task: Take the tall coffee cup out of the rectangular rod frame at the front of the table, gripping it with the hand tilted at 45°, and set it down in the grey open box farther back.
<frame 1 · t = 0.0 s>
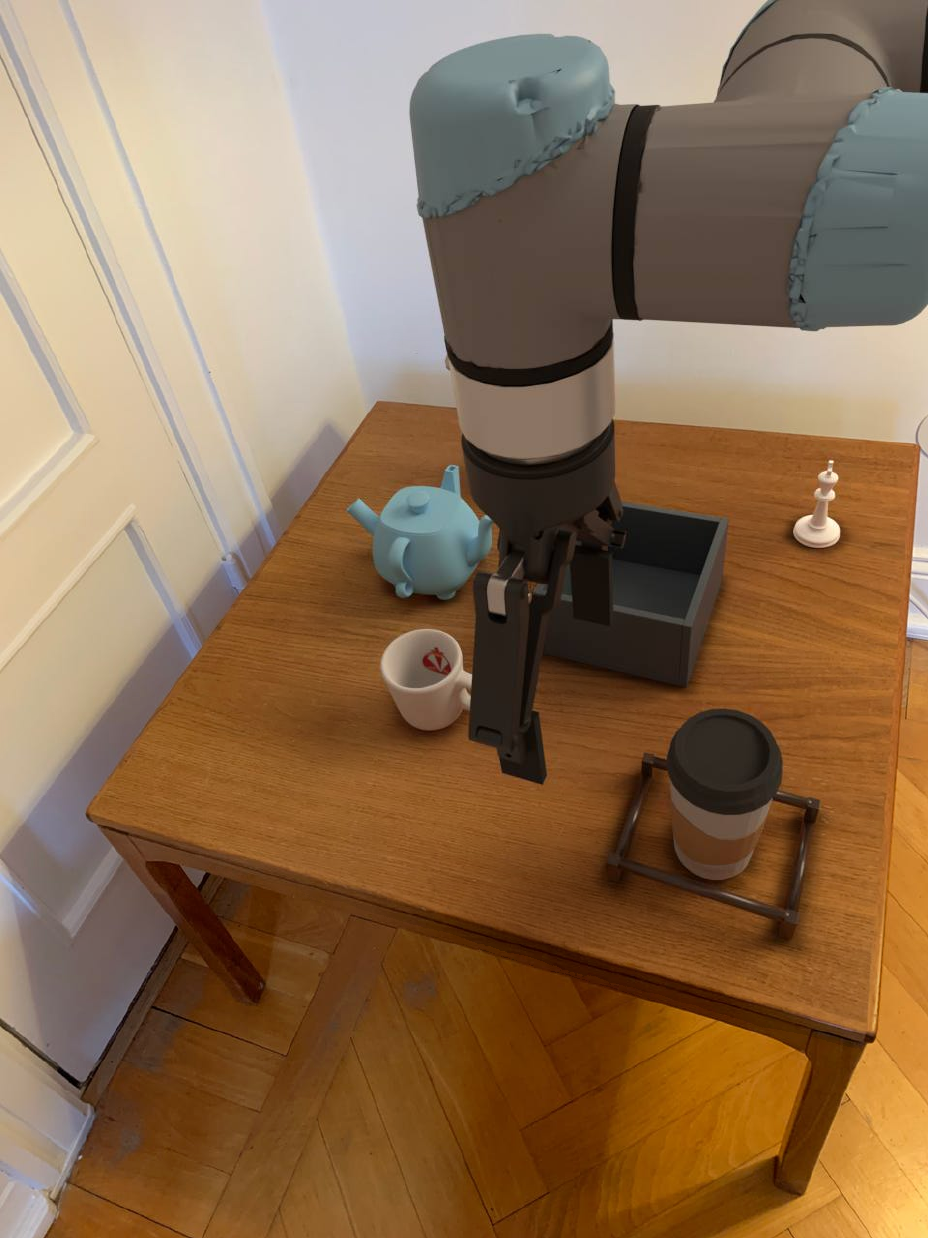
hand: (561, 691, 57), 24 cm above the table, tool pointing down, fingers open, 13 cm apart
lamp: (536, 473, 112), on the table
chess piece: (816, 534, 97), on the table
grey open box: (632, 616, 92), on the table
teapot: (437, 569, 102), on the table
rectangular rod frame: (711, 848, 73), on the table
cup: (446, 713, 87), on the table
coffee cup: (711, 849, 73), on the table
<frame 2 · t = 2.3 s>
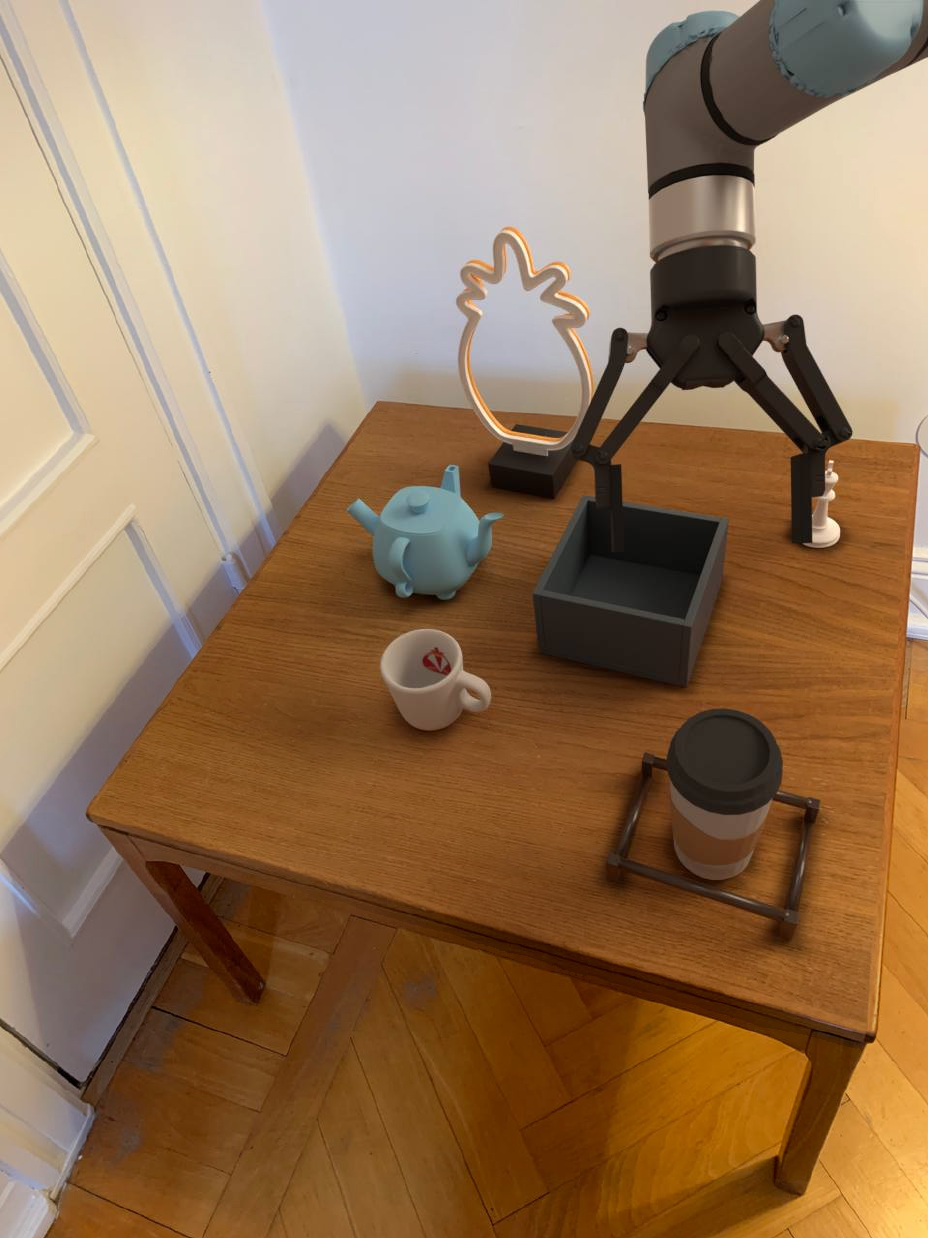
hand: (708, 548, 65), 23 cm above the table, tool tilted 40°, fingers open, 13 cm apart
nothing on the table moved.
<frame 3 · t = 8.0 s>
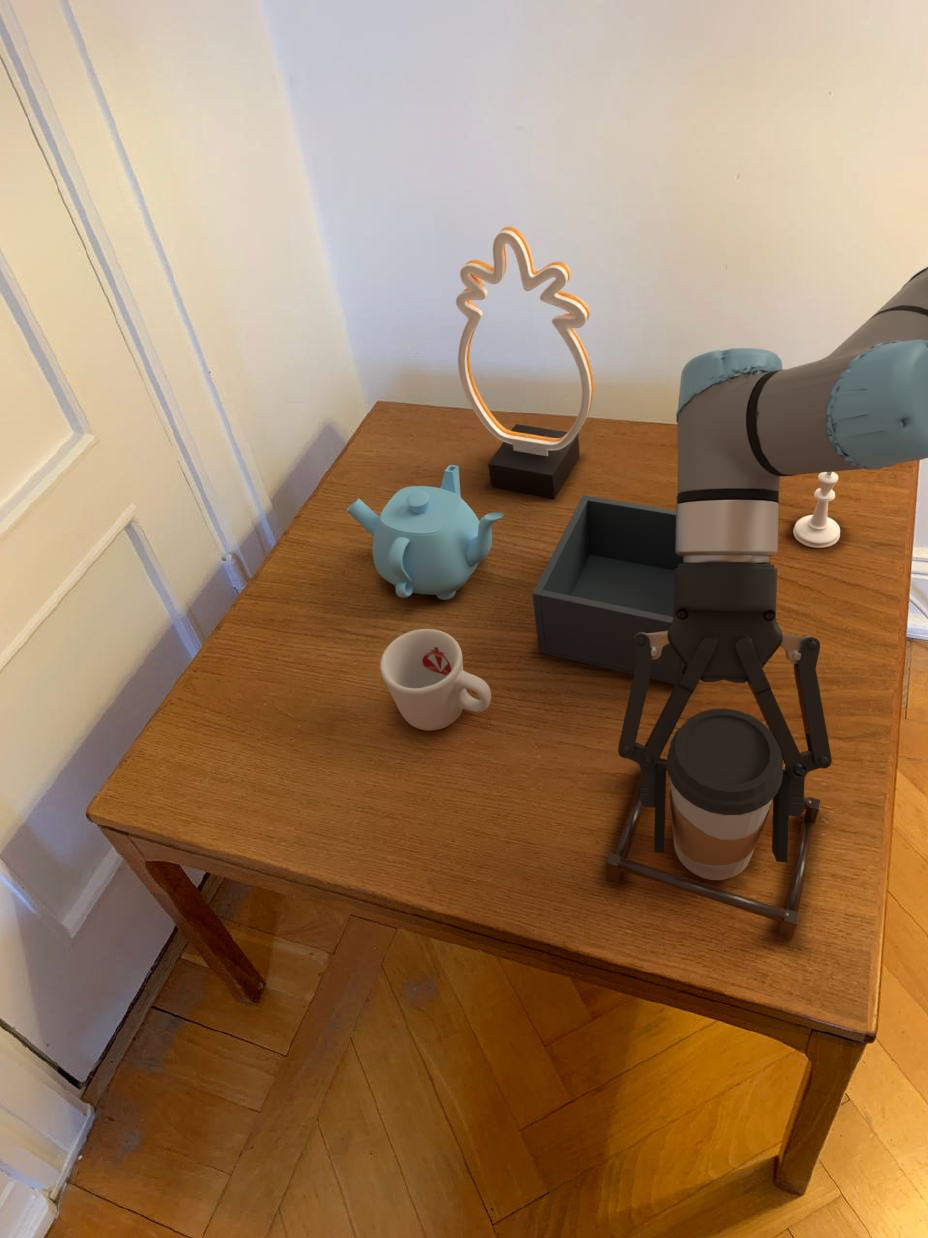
hand: (718, 852, 67), 6 cm above the table, tool tilted 45°, fingers closed on coffee cup, 8 cm apart
coffee cup: (711, 849, 73), on the table, touching gripper
everything else where it was.
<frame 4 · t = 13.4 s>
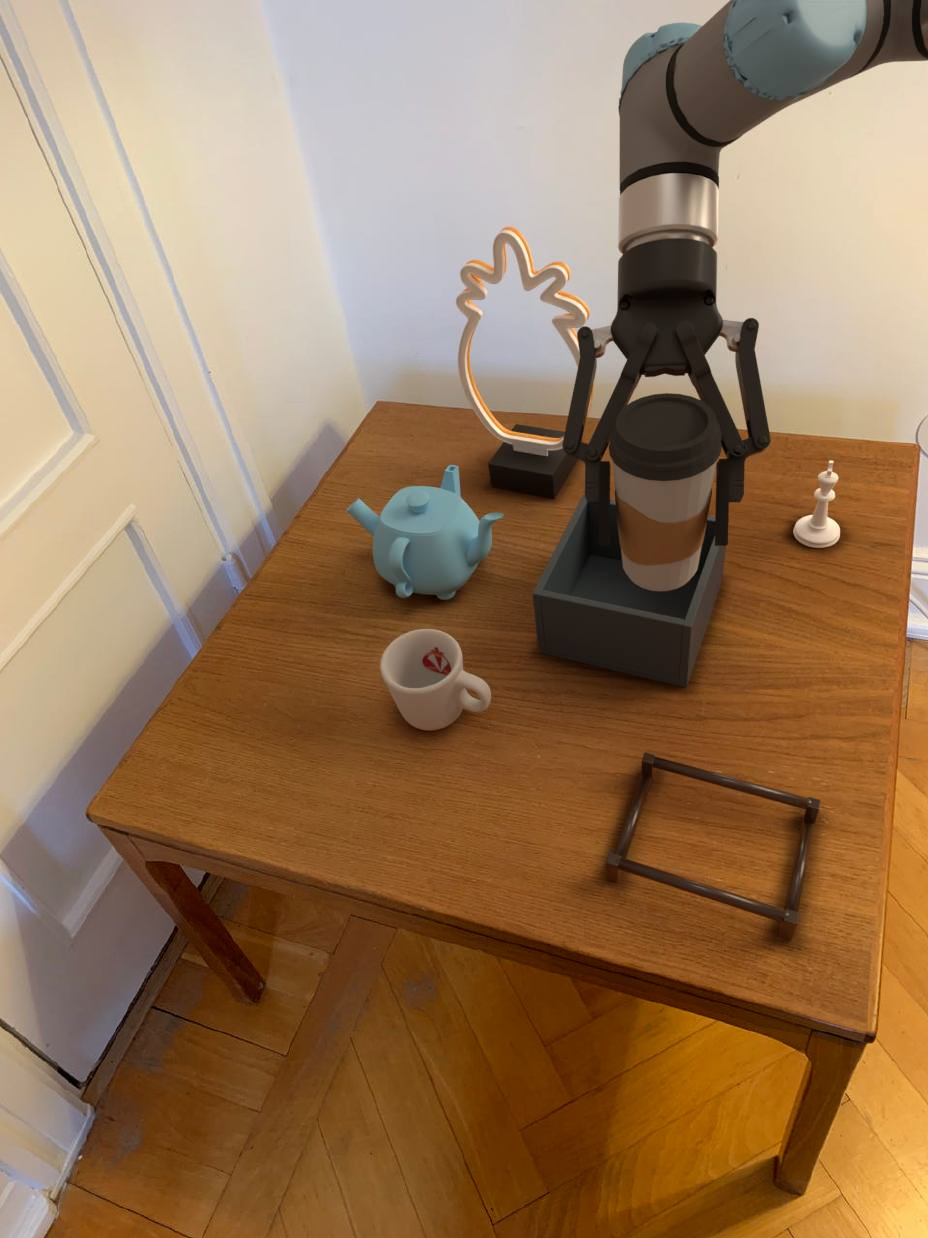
hand: (661, 544, 68), 22 cm above the table, tool tilted 45°, fingers closed on coffee cup, 8 cm apart
coffee cup: (659, 569, 74), point 16 cm above the table, touching gripper
everything else where it was.
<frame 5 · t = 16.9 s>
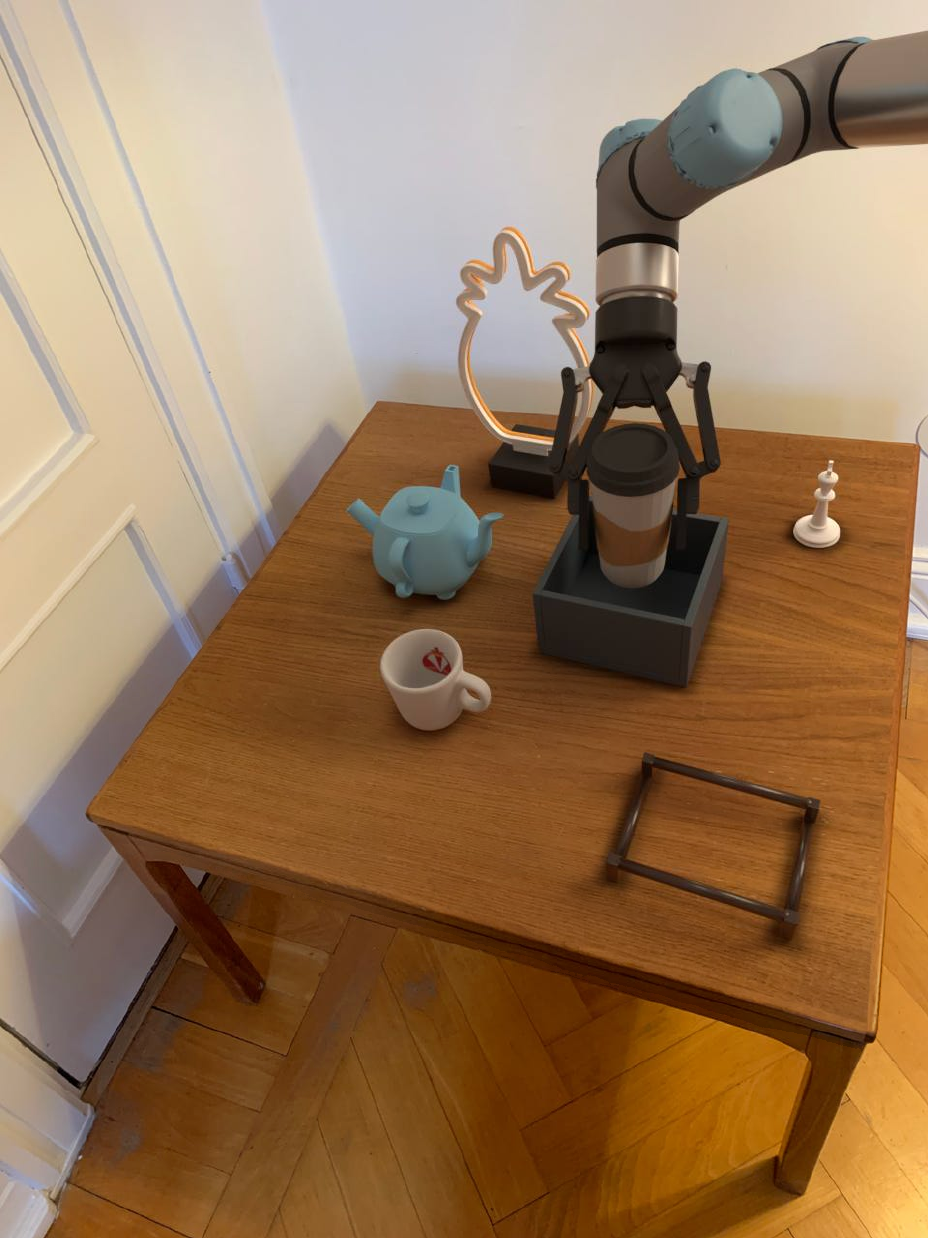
hand: (631, 549, 81), 13 cm above the table, tool tilted 45°, fingers closed on coffee cup, 8 cm apart
coffee cup: (632, 569, 87), point 7 cm above the table, touching gripper
everything else where it was.
when the fingers open (8 cm above the table, at t = 19.8 s): coffee cup stays where it is, resting on grey open box.
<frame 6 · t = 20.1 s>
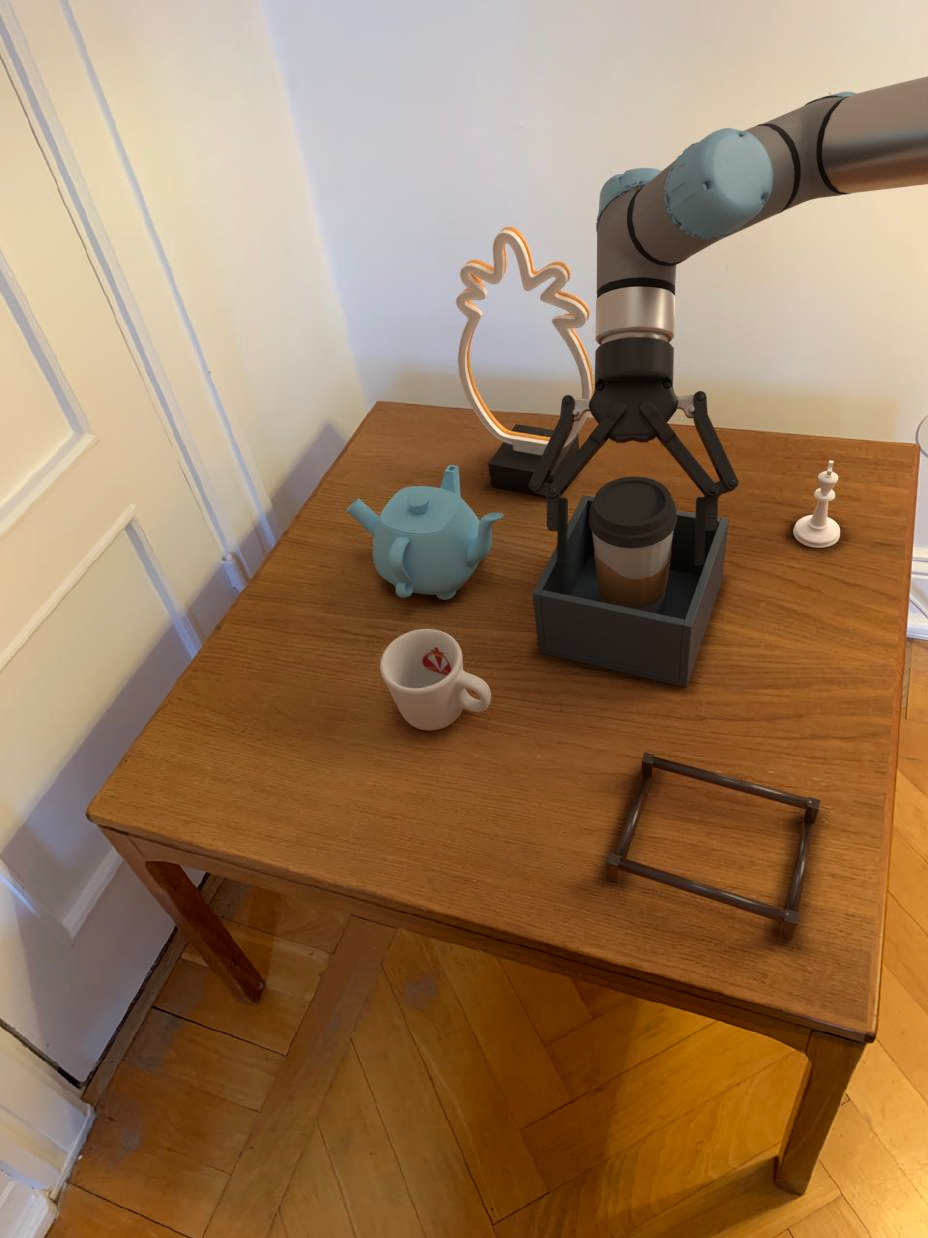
hand: (629, 565, 84), 9 cm above the table, tool tilted 45°, fingers open, 12 cm apart
coffee cup: (632, 610, 92), point 1 cm above the table, touching grey open box
everything else where it was.
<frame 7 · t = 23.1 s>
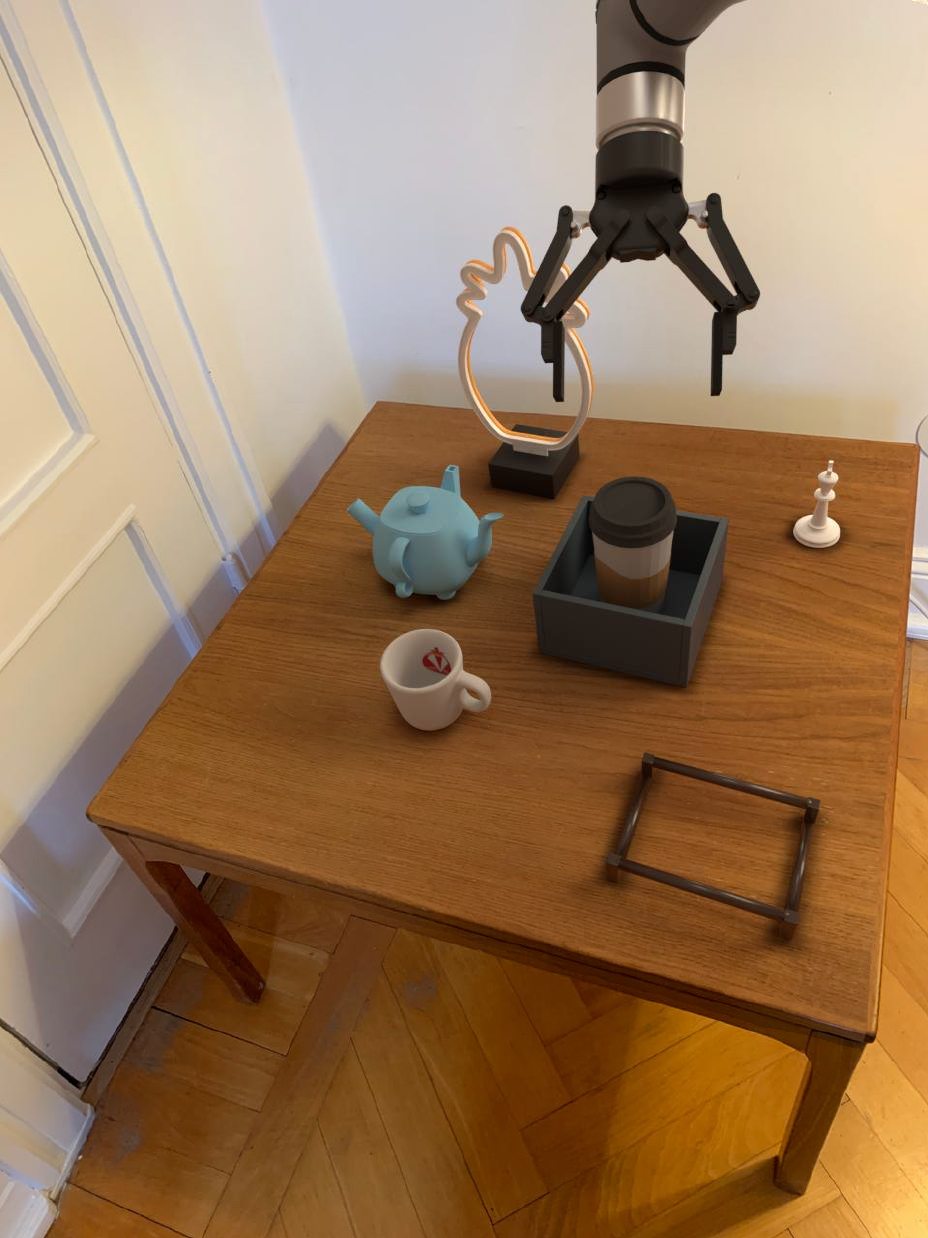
hand: (635, 396, 75), 26 cm above the table, tool tilted 45°, fingers open, 13 cm apart
nothing on the table moved.
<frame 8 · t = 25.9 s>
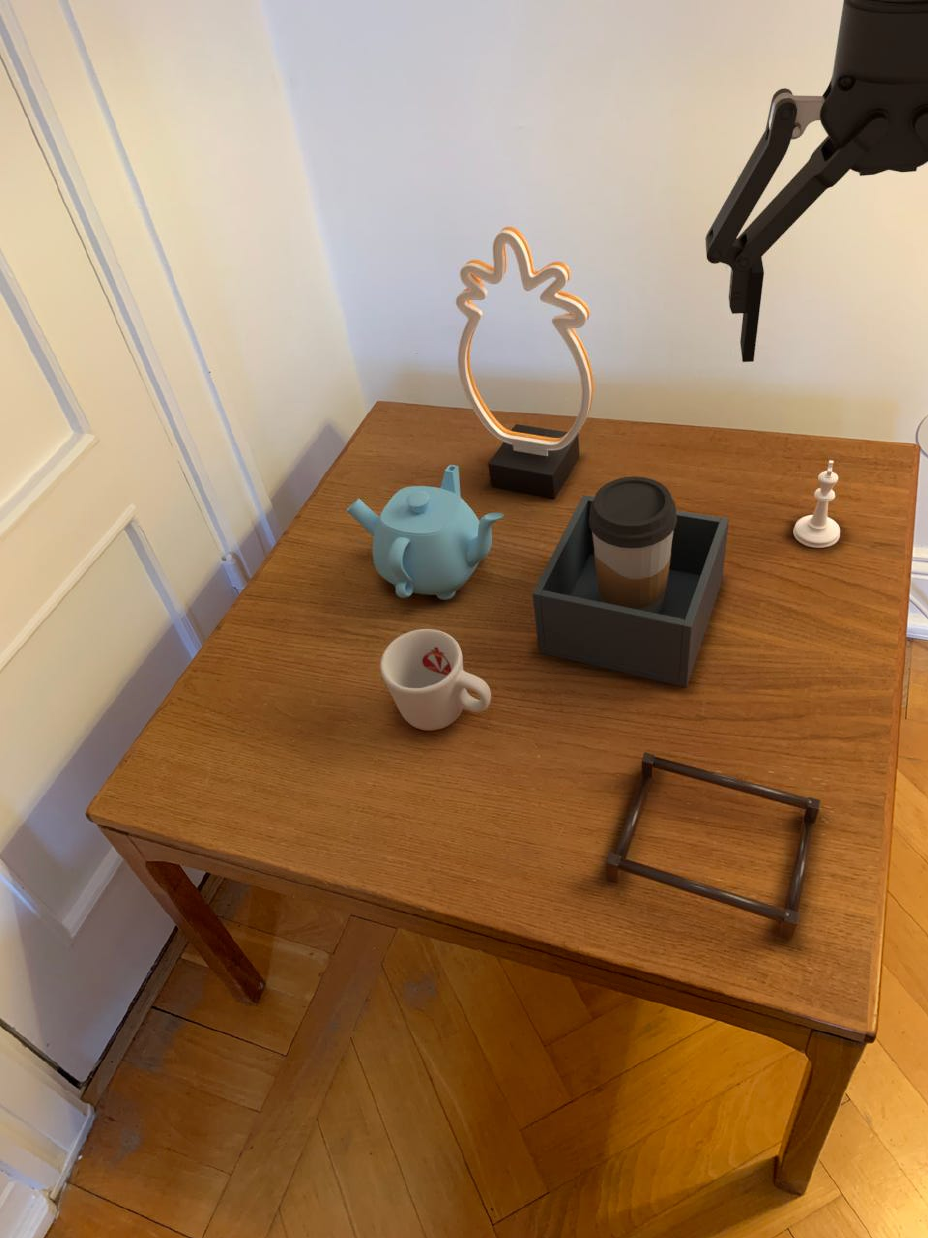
hand: (848, 347, 60), 35 cm above the table, tool pointing down, fingers open, 13 cm apart
nothing on the table moved.
at the end: coffee cup inside the target area in the grey open box (0.1 cm from its centre), point 0.8 cm above the grey open box's base; the gripper is holding nothing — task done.
